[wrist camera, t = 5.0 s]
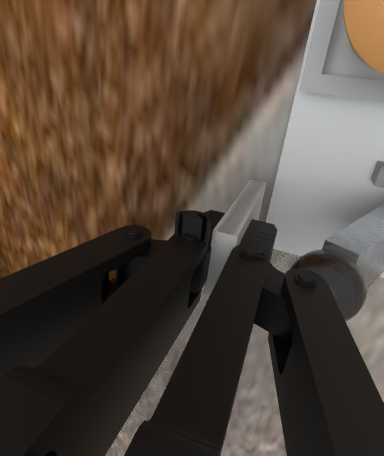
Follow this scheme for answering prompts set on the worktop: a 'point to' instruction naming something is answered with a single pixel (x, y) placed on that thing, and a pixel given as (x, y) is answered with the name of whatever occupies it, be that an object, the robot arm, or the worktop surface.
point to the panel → (329, 141)
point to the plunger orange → (366, 30)
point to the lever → (350, 261)
